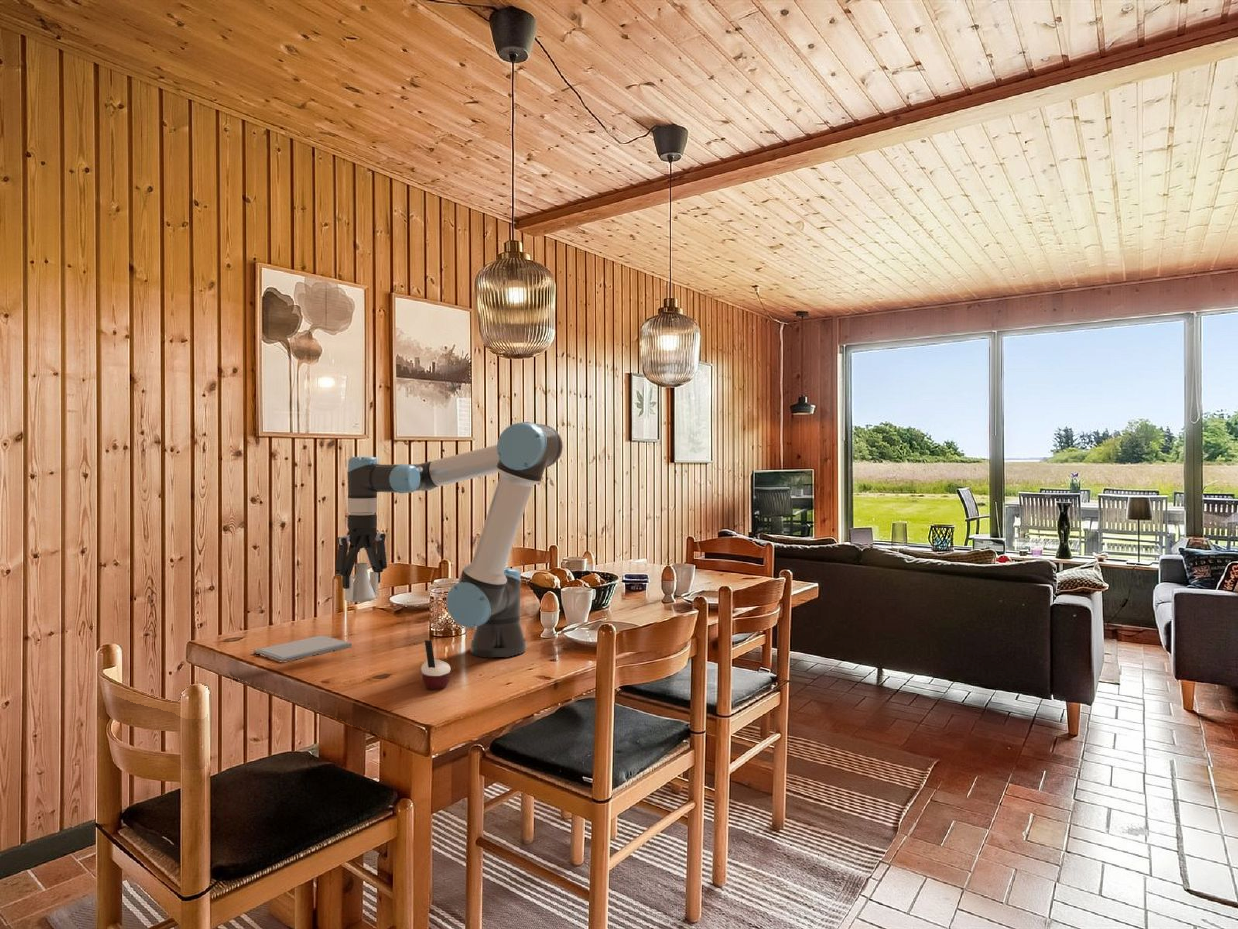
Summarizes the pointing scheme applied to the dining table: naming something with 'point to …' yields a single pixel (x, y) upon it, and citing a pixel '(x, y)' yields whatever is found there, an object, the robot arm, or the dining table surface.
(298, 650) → the slate board
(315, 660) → the dining table surface
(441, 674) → the cocoa
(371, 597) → the flask
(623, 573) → the dining table surface
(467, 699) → the dining table surface
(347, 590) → the robot arm
